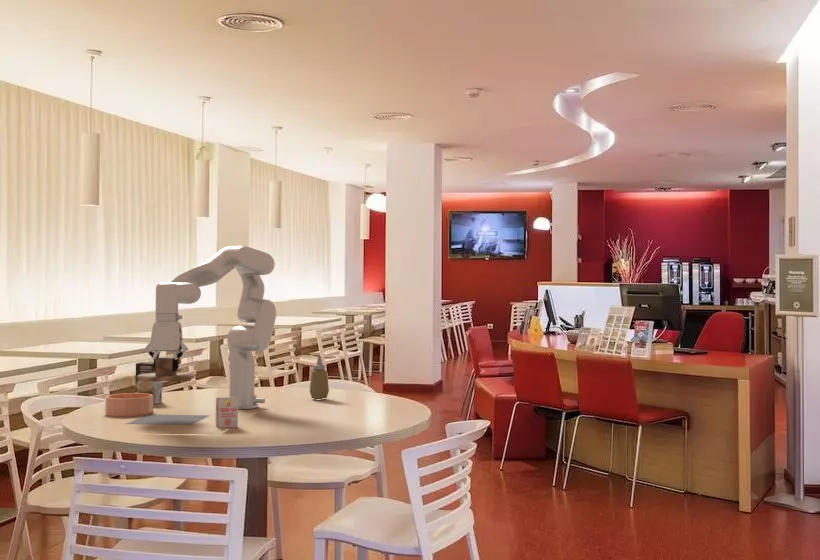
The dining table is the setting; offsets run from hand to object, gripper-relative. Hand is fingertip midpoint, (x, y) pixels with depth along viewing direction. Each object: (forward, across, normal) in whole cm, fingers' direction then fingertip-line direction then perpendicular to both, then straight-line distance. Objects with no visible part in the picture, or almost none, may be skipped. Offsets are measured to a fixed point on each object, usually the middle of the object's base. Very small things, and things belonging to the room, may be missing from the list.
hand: (166, 370), depth 267 cm
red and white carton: (+18, -25, +12) cm, 33 cm away
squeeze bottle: (+18, -45, -57) cm, 75 cm away
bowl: (+17, +18, -13) cm, 28 cm away
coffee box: (+18, +21, -41) cm, 50 cm away
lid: (+3, 0, 0) cm, 3 cm away
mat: (+17, -2, +1) cm, 18 cm away
